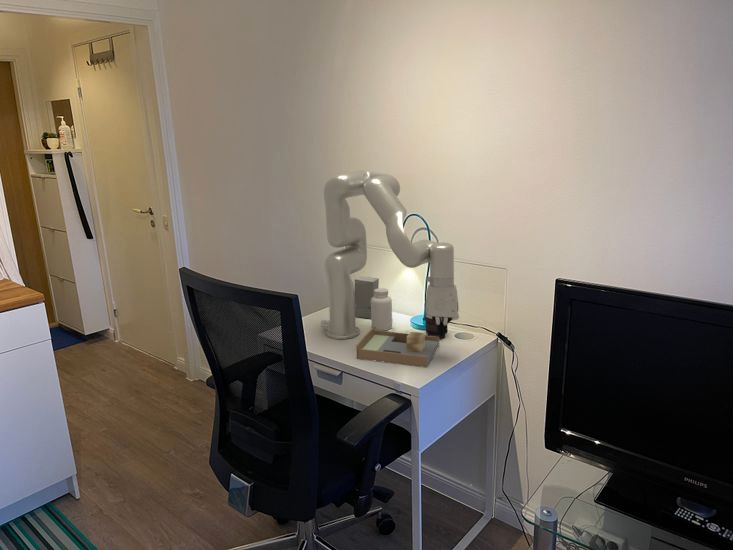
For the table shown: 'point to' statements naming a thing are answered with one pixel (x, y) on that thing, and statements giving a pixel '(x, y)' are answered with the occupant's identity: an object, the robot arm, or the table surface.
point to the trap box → (394, 348)
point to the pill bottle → (381, 310)
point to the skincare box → (364, 295)
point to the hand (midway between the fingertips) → (442, 335)
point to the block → (415, 341)
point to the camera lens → (432, 327)
